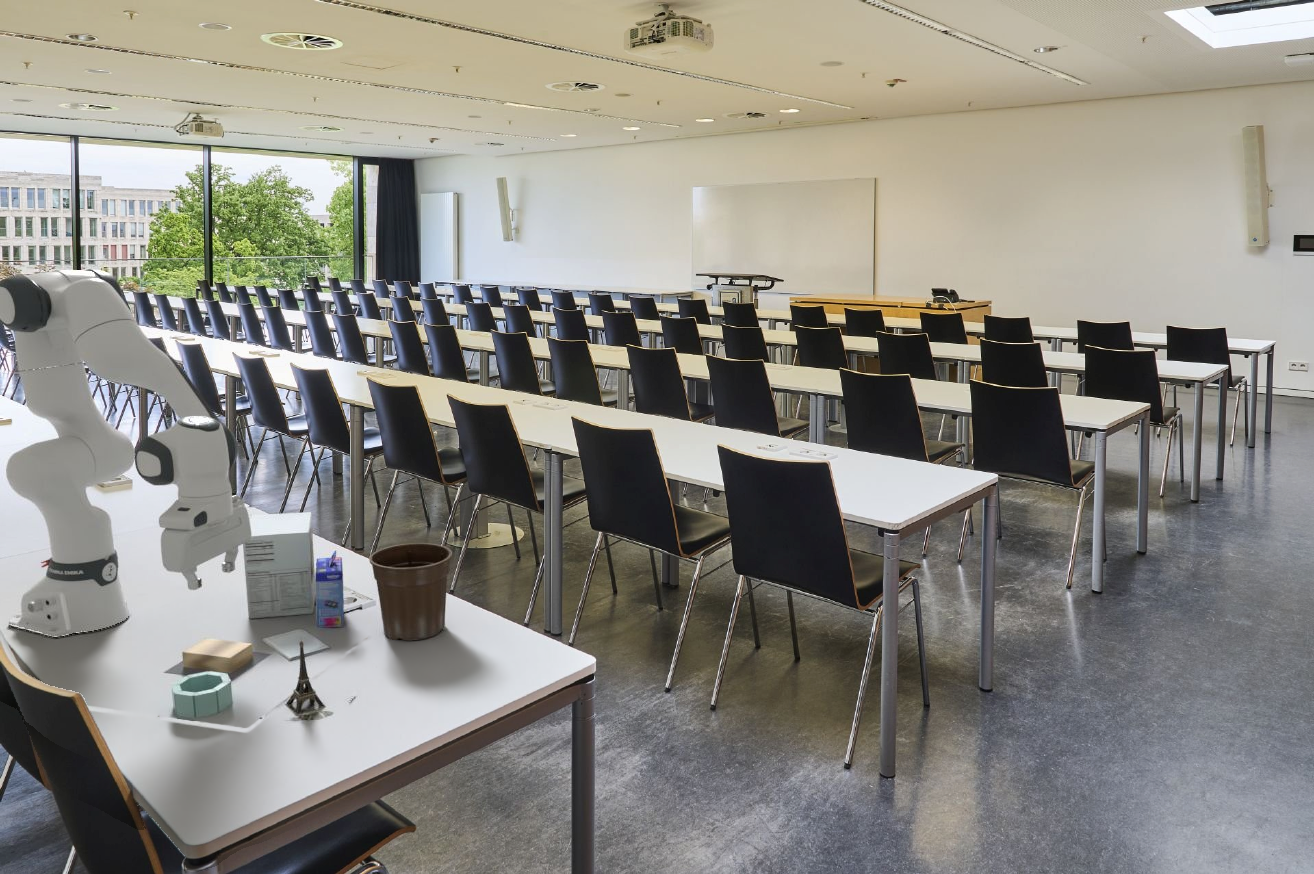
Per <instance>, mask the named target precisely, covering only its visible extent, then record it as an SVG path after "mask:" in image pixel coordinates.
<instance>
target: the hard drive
mask: <svg viewBox="0 0 1314 874" xmlns="http://www.w3.org/2000/svg"><path fill="white" fill-rule="evenodd" d="M261 641H262V642H263V643H265V644H266V645H267V646H268V647H270V648H271V649H272V650H274V651H275V652H277V653H278V654H279V655H280V656H282V657H284V658H285V659H286V660H287V661H288V662H289V661H294V660H297V659H300V645H299V643H300V642H301V641H302V642H303V644H304V645H303V649H304V657H307V656H311V655H314V654H318V653H321V652H325V651H327V650H331V647H329V646H328V645H326V644H325V643H323V642H322V641H321V640H319V639H318V638H316V637H315V636H313V635H312V634H311V633H308V631H305V630H304V629H303V628H302V629H301V628H299V629H295V630H291V631H287V632H284V633H280V634H276V635H272V636H269V637H266V638H263V639H262V640H261Z"/></svg>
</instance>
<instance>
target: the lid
mask: <svg viewBox="0 0 1314 874" xmlns="http://www.w3.org/2000/svg"><path fill="white" fill-rule="evenodd" d="M253 652H254V649H253V643H249V642H241V641H234V640H233V641H232V640H225V639H224V640H223V639H216V638H206V637H205V638H203V639H201V640H200V641H198V642H197V643H195V644H193V645H192V646H190V647H188V648H186V649H184V650H183V651H182V653H181V654H182V661H183V666H184V667H186V668H194V669H202V670H210V671H218V672H226V673H232V672H234V671H235V670H237V669H238V668H240V667H241V666H243V665H244V664H246V663H247V662H249V661H250V660H252V659H253Z"/></svg>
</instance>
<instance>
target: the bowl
mask: <svg viewBox="0 0 1314 874" xmlns="http://www.w3.org/2000/svg"><path fill="white" fill-rule="evenodd" d="M171 695H172V707H173V709H174V710H173V711H174V714H175V716H178V717H176V719H177V720H183V721H184V720H185V721H190V722H191V721H192V722H195V721H196V722H198V720H197V719H198V718H203V717H206V716H211V715H214V714H218V713H221V712H222V711H224V710H225V709H226V708H227V707H230V706H231V705H232V704H233V692H232V681H231V680H230V678H229V676H228V674H226V673H220V672H212V671H209V672H208V671H207V672H202V673H197V674H192V675H184V676H183V677H182V678H180V679H179V680H177V681H174V683H172V684H171ZM182 717H183V718H182ZM184 717H185V718H184ZM188 718H193V719H188ZM195 718H196V720H195Z"/></svg>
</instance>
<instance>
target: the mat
mask: <svg viewBox="0 0 1314 874" xmlns="http://www.w3.org/2000/svg"><path fill="white" fill-rule="evenodd" d="M271 655H272V653H268V652H258V651H253V659H252V660H250V661H249V662H247V663H246V664H244V665H243V666H241V667H240V668H238V669H237V670H235V671H234V672H232V673H226V672H220V673H226V674H228V676H229V678H230V680H231V682H232V681H234V680H235V679H238V677H240V676H242V675H243V674H244V673H246V672H248V671H249V670H250V669H252V668H254V666H256V665H257V664H259V663H260V662H262V661H264V660H265V659H267V658H268V657H269V656H271ZM207 671H208V672H209V671H210V670H202V669H194V668H186V667H184V666H183V660H182V661H180V662H178V663H177V664H175V665H173V666H172V667H170V668H168V669H167V670H165V671H163V673H164V674H174V675H180V676H187V675H192V674H197V673H202V672H207ZM212 672H218V671H212Z"/></svg>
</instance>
